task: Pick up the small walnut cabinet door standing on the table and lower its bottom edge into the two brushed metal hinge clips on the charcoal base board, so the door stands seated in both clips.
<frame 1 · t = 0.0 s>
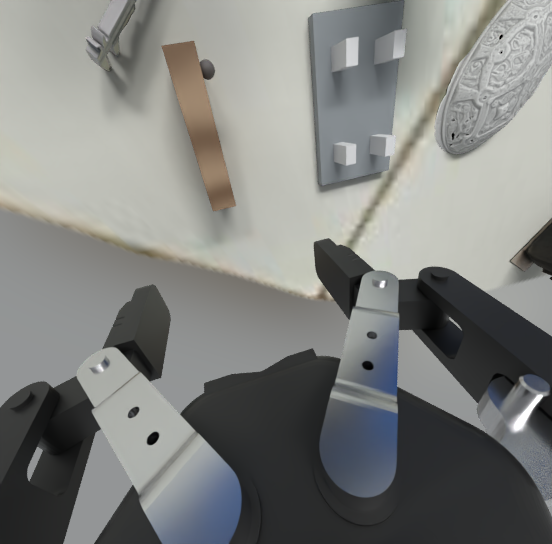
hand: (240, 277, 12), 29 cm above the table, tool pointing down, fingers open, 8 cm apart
oval brooch: (491, 78, 40), on the table
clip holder: (352, 106, 36), on the table
cabinet door: (204, 135, 34), on the table
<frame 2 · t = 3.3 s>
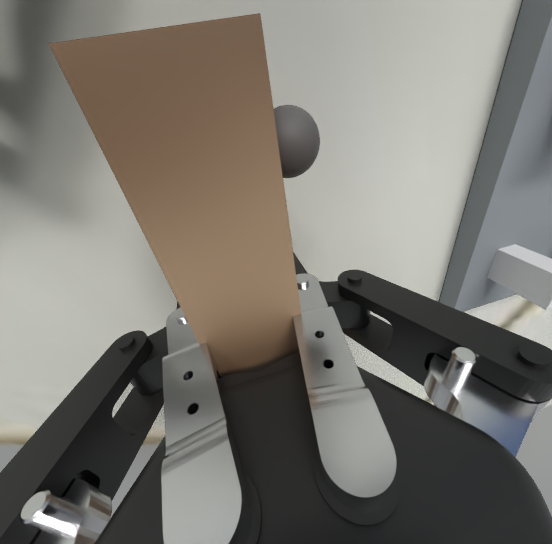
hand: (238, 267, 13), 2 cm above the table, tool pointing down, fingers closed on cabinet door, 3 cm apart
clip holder: (543, 173, 17), on the table
cabinet door: (235, 254, 15), on the table, touching gripper
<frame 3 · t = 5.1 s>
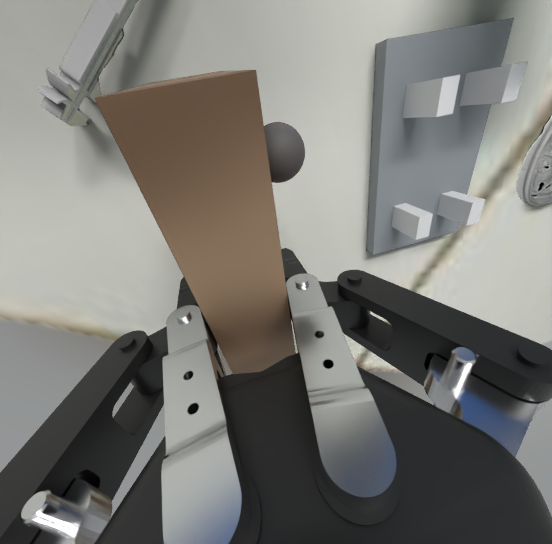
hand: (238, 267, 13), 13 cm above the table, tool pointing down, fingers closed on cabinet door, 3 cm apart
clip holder: (420, 156, 27), on the table
cabinet door: (231, 234, 16), point 10 cm above the table, tilted 8°, touching gripper
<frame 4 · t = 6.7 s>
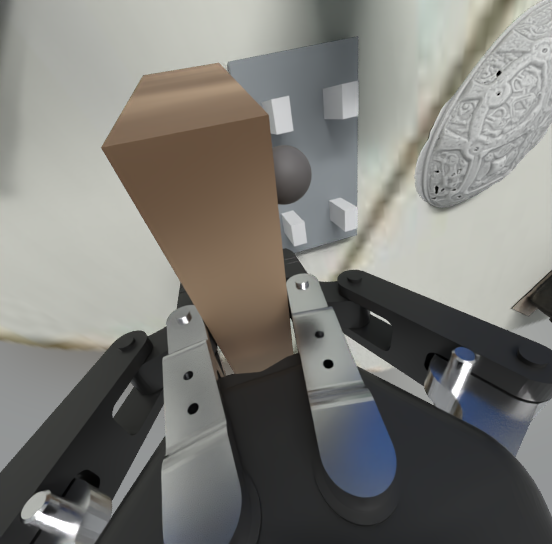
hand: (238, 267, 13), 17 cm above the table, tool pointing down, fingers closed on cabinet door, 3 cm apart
oval brooch: (486, 120, 32), on the table
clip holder: (302, 166, 28), on the table
cabinet door: (229, 229, 16), point 14 cm above the table, tilted 14°, touching gripper
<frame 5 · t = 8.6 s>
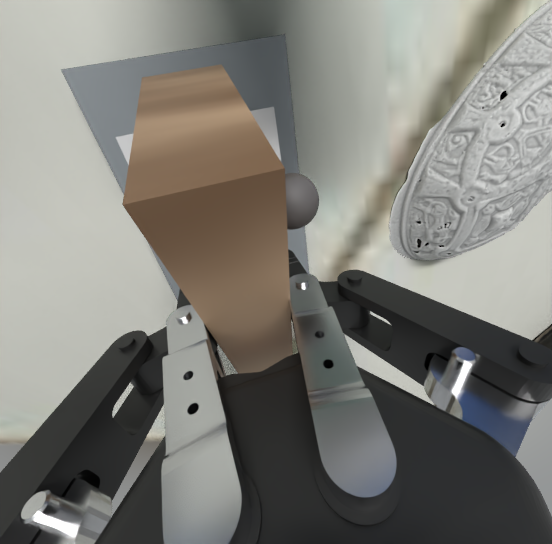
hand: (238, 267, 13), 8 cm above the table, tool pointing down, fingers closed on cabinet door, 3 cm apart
oval brooch: (484, 153, 24), on the table
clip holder: (226, 216, 20), on the table
cabinet door: (229, 228, 16), point 5 cm above the table, tilted 19°, touching gripper
when the fingers open (5 cm above the table, at t = 10.1 s): cabinet door stays where it is, resting on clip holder.
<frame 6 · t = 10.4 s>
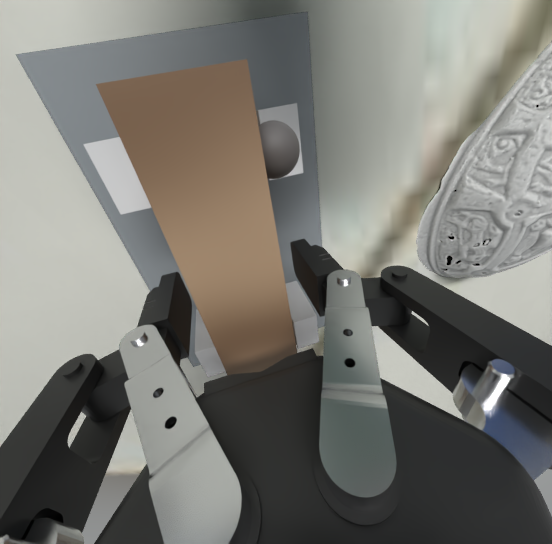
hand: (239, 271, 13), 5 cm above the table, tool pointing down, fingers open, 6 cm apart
oval brooch: (526, 159, 21), on the table
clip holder: (230, 234, 17), on the table
cabinet door: (233, 248, 16), point 1 cm above the table, touching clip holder
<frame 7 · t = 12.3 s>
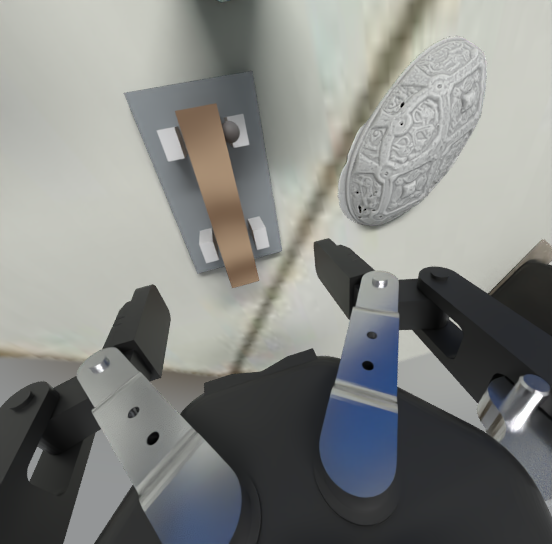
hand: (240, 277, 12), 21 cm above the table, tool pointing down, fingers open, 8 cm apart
shoulder bag: (506, 287, 56), on the table
oval brooch: (405, 145, 33), on the table
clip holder: (219, 186, 30), on the table
cabinet door: (220, 192, 29), point 1 cm above the table, touching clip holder
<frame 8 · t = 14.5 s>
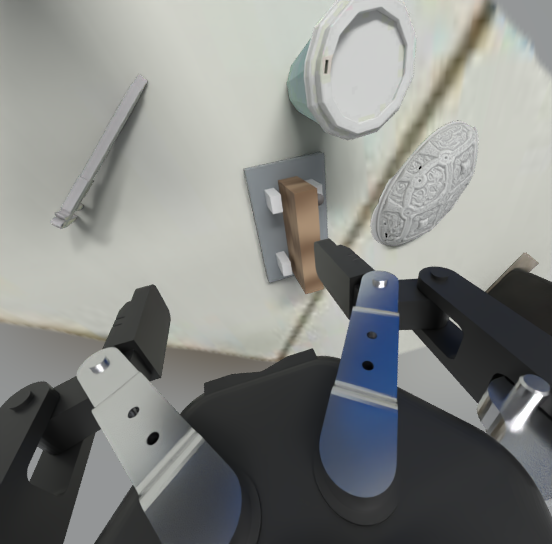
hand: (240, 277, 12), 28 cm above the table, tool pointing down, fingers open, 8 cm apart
shoulder bag: (496, 290, 68), on the table
oval brooch: (419, 189, 46), on the table
caliper: (106, 153, 32), on the table
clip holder: (290, 222, 42), on the table
cabinet door: (293, 227, 41), point 1 cm above the table, touching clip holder
disposable coffee cup: (309, 88, 33), on the table
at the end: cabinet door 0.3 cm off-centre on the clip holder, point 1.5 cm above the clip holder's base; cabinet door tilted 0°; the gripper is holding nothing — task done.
